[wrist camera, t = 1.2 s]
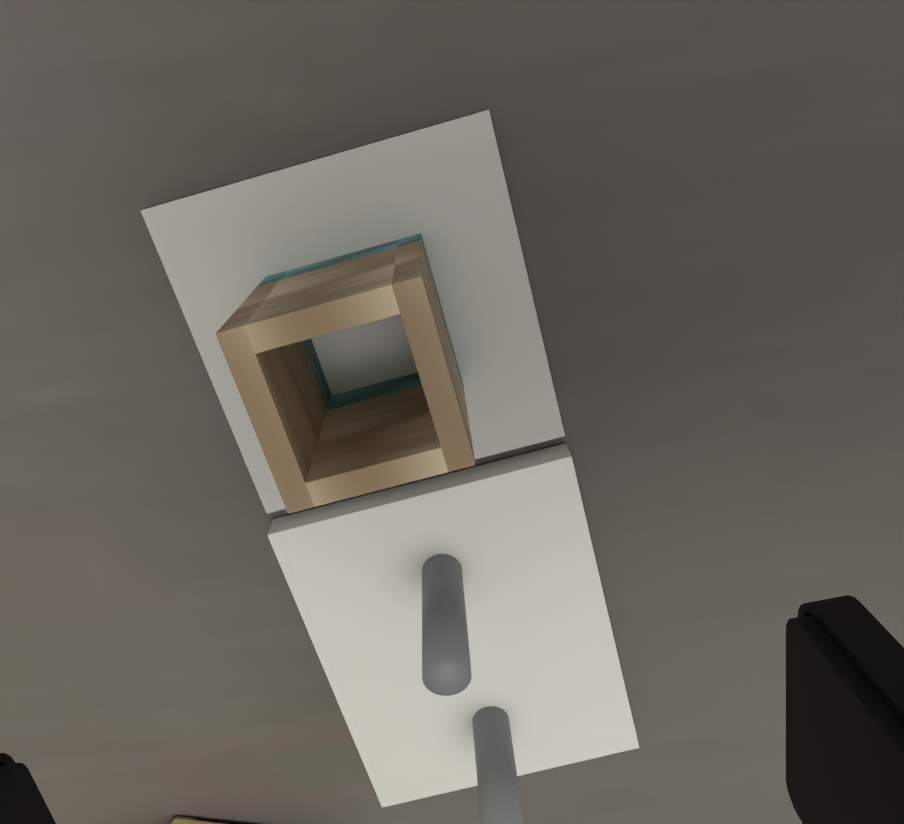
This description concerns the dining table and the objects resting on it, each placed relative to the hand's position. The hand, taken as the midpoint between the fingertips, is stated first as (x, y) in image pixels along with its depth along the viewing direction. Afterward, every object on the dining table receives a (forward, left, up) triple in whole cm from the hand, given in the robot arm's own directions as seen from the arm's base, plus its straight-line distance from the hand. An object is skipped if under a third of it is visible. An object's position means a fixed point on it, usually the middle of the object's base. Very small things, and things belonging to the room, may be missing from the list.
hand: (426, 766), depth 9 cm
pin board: (+2, +14, -20) cm, 24 cm away
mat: (+2, 0, -20) cm, 20 cm away
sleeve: (+2, 0, -20) cm, 20 cm away
